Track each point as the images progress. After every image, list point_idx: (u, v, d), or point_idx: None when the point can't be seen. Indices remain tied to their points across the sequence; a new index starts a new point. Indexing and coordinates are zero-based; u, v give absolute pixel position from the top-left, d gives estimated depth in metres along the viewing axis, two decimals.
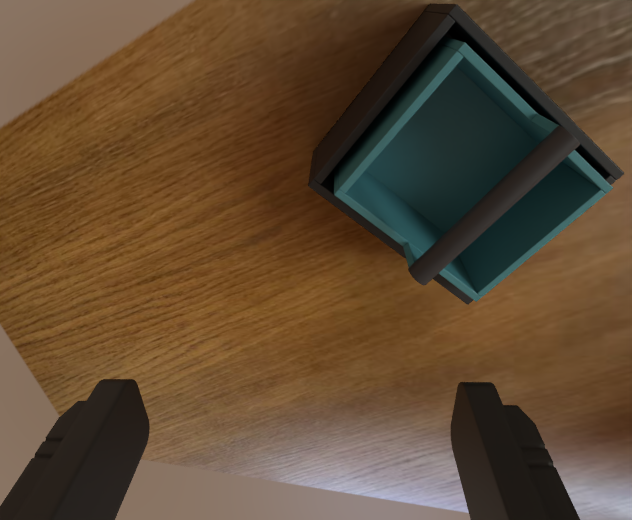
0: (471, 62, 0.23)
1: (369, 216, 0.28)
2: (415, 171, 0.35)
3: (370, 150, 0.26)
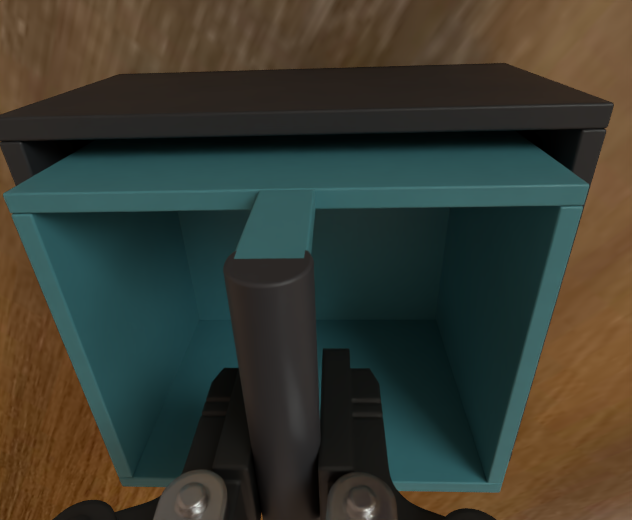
0: (51, 211, 0.10)
1: None
2: None
3: None
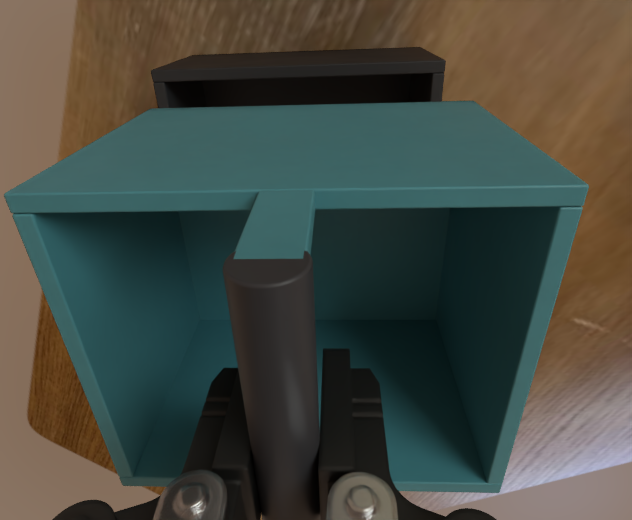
0: (52, 211, 0.10)
1: None
2: None
3: None
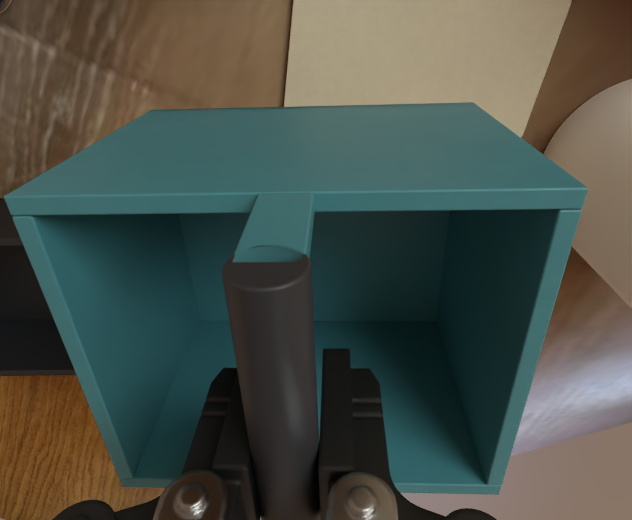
0: (52, 213, 0.10)
1: None
2: None
3: None
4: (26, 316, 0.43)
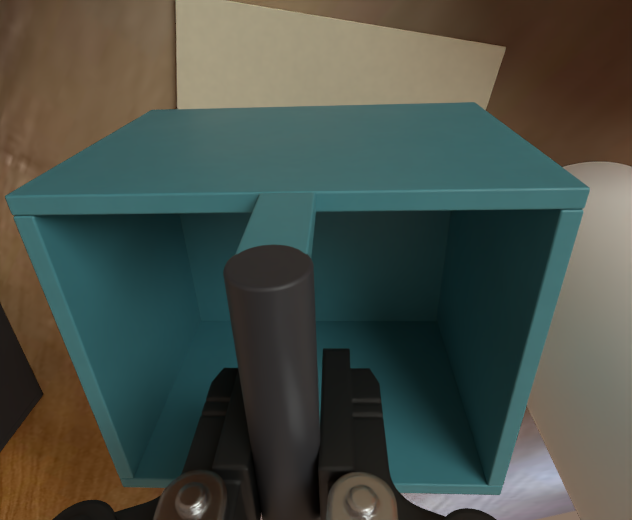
0: (53, 213, 0.10)
1: None
2: None
3: None
4: None
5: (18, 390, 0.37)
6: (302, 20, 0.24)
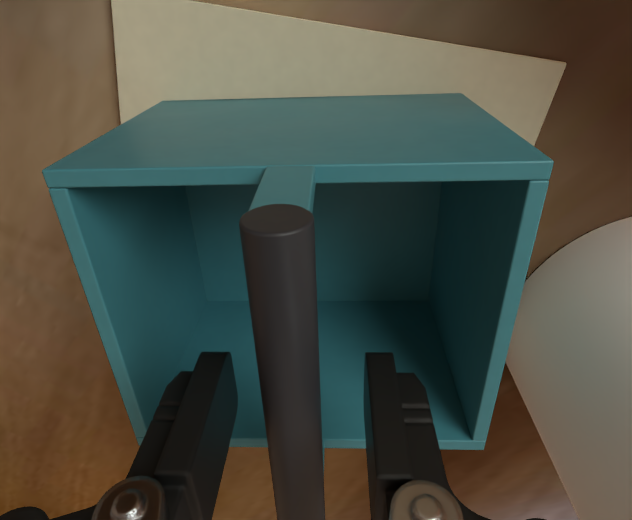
0: (84, 186, 0.11)
1: None
2: None
3: None
4: None
5: None
6: (287, 26, 0.17)
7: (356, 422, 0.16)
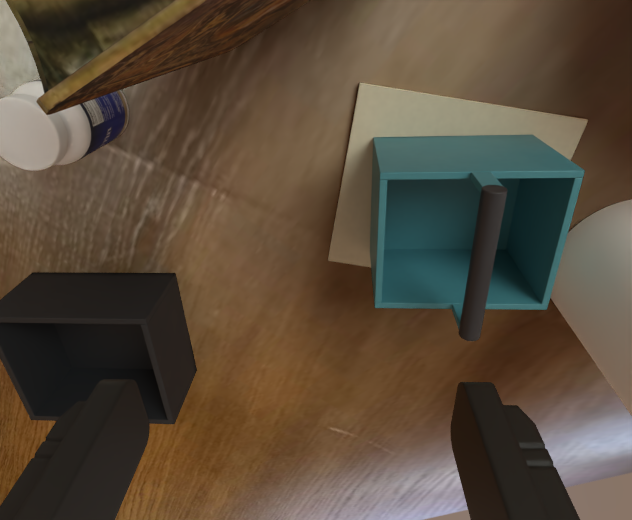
0: (395, 179, 0.29)
1: (410, 305, 0.33)
2: (438, 225, 0.39)
3: (375, 268, 0.32)
4: (103, 365, 0.51)
5: (187, 365, 0.48)
6: (445, 101, 0.35)
7: None
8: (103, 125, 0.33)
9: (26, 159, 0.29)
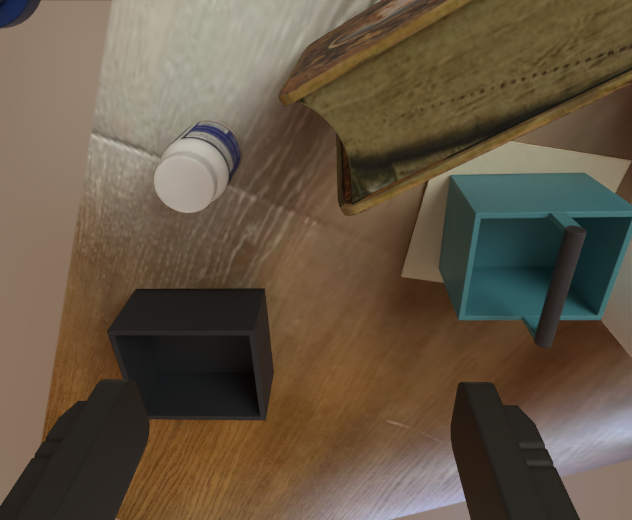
0: (487, 218, 0.35)
1: (488, 318, 0.40)
2: (500, 247, 0.46)
3: (462, 287, 0.39)
4: (190, 369, 0.57)
5: (269, 368, 0.54)
6: (514, 146, 0.41)
7: None
8: (232, 170, 0.39)
9: (184, 204, 0.35)
